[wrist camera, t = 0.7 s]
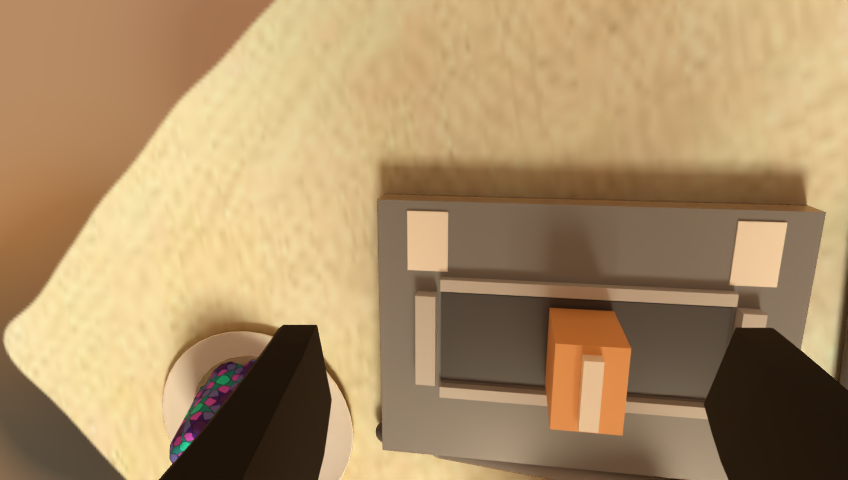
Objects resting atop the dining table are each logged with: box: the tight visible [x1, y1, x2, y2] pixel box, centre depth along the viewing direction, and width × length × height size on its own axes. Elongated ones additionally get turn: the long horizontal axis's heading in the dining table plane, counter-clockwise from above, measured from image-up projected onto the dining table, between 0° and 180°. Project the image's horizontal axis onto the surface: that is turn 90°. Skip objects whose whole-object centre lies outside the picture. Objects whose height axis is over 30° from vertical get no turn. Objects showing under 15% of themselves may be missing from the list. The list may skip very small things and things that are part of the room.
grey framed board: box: [377, 194, 826, 480], centre depth 28 cm, size 14×20×2 cm
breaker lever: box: [545, 308, 631, 436], centre depth 25 cm, size 4×3×5 cm
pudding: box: [162, 331, 353, 480], centre depth 31 cm, size 12×12×5 cm
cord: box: [433, 455, 667, 480], centre depth 30 cm, size 19×1×1 cm, turn 84°
